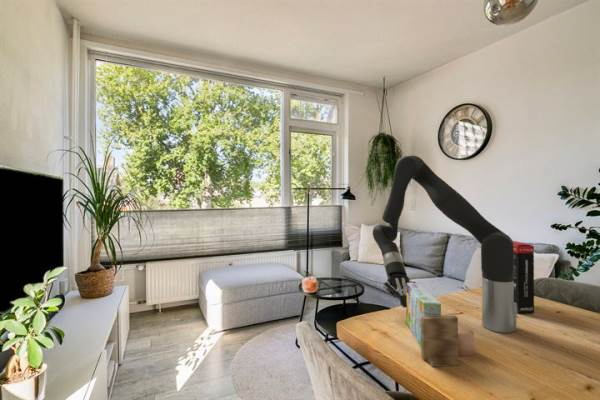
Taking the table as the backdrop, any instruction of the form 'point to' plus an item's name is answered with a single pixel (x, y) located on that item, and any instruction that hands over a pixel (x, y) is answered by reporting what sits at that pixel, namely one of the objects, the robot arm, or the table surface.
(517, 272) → the graphics card box
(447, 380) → the table surface
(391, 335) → the table surface
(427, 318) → the walnut bookend
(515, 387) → the table surface
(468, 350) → the pinkish-brown rounded piece
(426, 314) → the snack box
